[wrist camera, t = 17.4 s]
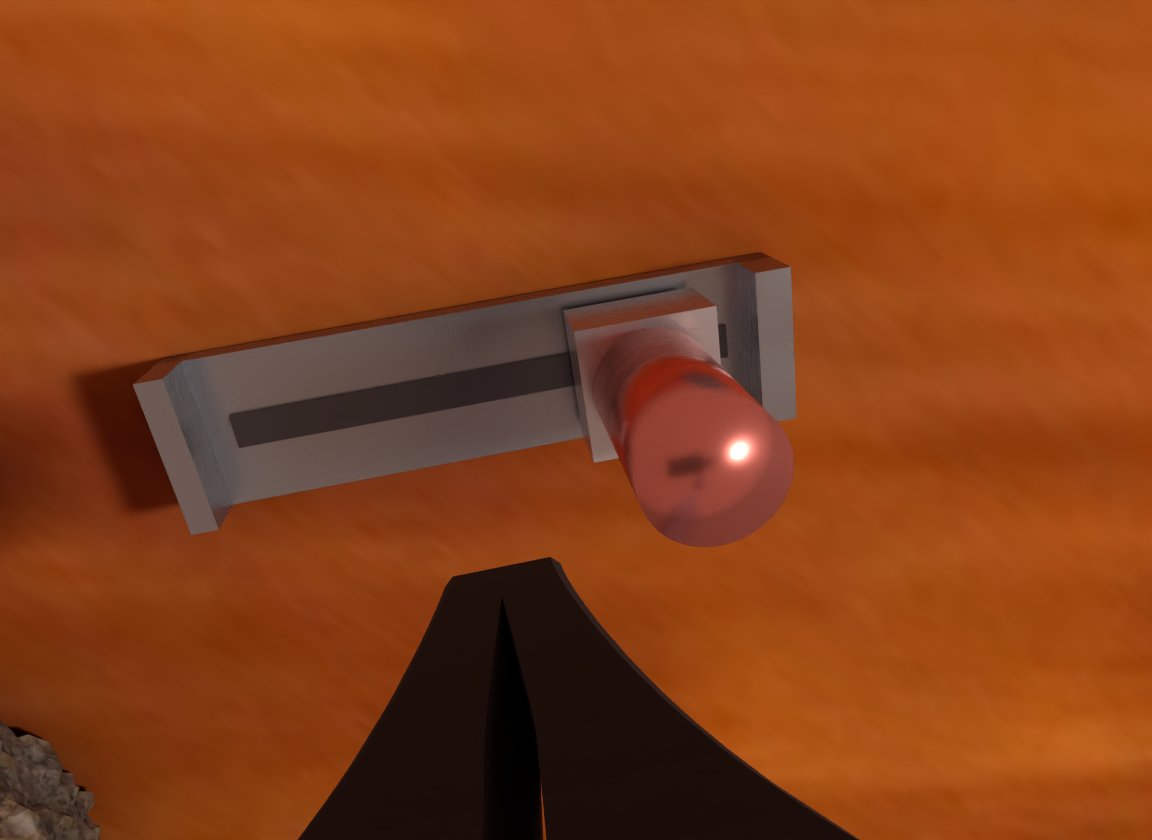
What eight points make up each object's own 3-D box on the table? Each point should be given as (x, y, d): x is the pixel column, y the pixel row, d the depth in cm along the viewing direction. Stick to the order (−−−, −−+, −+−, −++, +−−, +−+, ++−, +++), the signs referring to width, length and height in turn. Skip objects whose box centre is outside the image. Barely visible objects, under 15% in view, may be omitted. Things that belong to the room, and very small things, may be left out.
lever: (703, 408, 19) (808, 537, 13) (581, 431, 19) (635, 573, 13) (692, 287, 18) (802, 372, 12) (563, 310, 18) (614, 408, 12)
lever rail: (768, 392, 20) (796, 417, 18) (214, 497, 19) (190, 534, 17) (761, 252, 19) (790, 266, 17) (162, 358, 18) (132, 384, 16)
